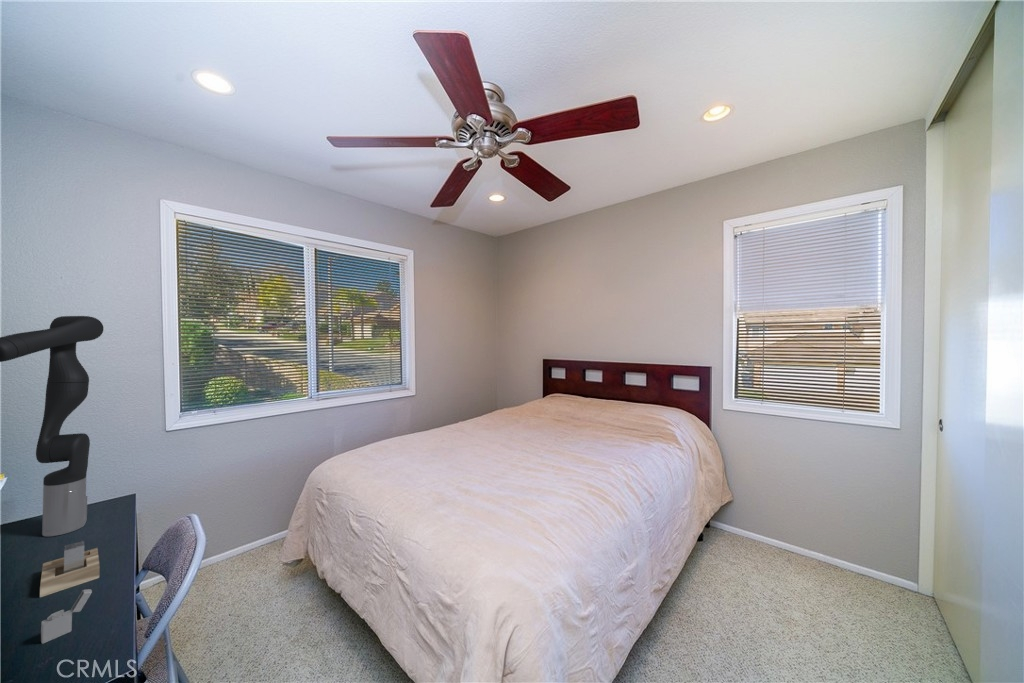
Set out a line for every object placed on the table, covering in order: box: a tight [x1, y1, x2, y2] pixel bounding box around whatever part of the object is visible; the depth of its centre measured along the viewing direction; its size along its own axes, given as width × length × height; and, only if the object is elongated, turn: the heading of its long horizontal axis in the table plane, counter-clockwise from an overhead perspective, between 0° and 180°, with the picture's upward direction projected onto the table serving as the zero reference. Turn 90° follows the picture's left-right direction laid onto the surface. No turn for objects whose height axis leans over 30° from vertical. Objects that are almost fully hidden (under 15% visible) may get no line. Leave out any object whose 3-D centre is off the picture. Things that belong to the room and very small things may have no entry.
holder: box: [39, 547, 100, 598], centre depth 99 cm, size 14×10×3 cm
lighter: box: [40, 588, 93, 645], centre depth 81 cm, size 7×2×8 cm, turn 149°
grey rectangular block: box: [63, 540, 85, 574], centre depth 98 cm, size 4×4×9 cm
